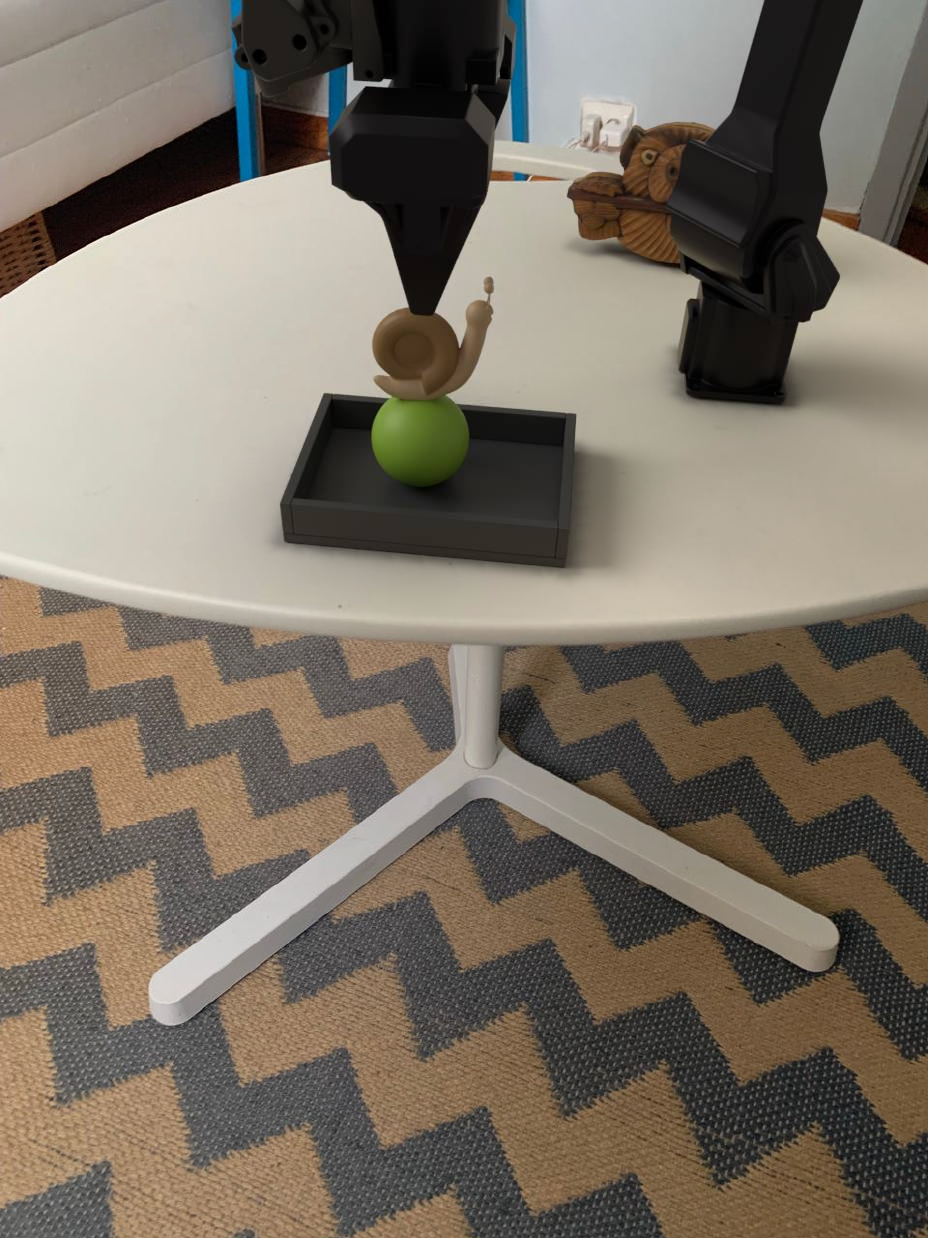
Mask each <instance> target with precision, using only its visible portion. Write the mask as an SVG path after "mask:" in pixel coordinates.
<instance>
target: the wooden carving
mask: <svg viewBox="0 0 928 1238" xmlns="http://www.w3.org/2000/svg"><path fill="white" fill-rule="evenodd" d="M716 129H717V128H713V127H711V126H708V125H707V124H703V123H698V122H694V121H692V122H691V121H672V122H666V123H662V124H658V125H656V126H653V127H649V128H648V129H645V128H643V127H642V126H640V125H637V124H634V125H633V126H632V127H631V128H630V131H629V132H628V135H627V137H626V138H625V140H624V142H623V144H622V146H621V149H620V153H619V156H618V157H619V163H620V166H621V167H622V168H623V172H622V174H619V173H616V172H610V171H591V172H589V173H587V174H586V175H585V176H581V177H577V178H575V179H574V180H573V182H572V183H571V185H570V186H569V187H568V189H567V193H566V198H567V199H568V200H571V201H572V206H573V207H572V208H573V213H574V214H575V215H576V216H577V227H578V234H579V236H580V237H581V239H584V240H588V241H593V242H594V241H602V240H603V241H604V240H608V239H613V238H616V239H617V241H619V243H620V244H621V245H623V246H624V247H625V248H627V249H628V250H629V251H631V252H633V253H634V254H637V255H639V256H640V257H643V258H645V259H650V260H652V261H656V262H662V263H669V264H680V258H679V251H678V247H677V245H676V243H675V241H674V238H672V237H671V236H670V221H671V215H672V211H670V210H669V209H667V208H666V204H667V202H668V200H669V198H670V196H671V195H672V193H673V190H674V187H675V185H676V182H677V179H678V174H679V168H680V161H681V154H682V151H683V149H684V147H685V146H686V144H687V142H688V141H689V140H691V139H695V140H699V141H703V142H705V141H706V140H707V139H708V137H709V136H710V135H711V134H712V133H713V132H714V131H715V130H716Z"/></svg>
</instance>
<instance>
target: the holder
mask: <svg viewBox="0 0 928 1238" xmlns="http://www.w3.org/2000/svg"><path fill="white" fill-rule="evenodd" d="M390 398H391V397H381V396H379V397H378V396H368V395H353V394H344V393H332V392H331V393H330V392H323V394H322V396H321V399H320V402H319V404H318V407H317V409H316V411H315V414H314V416H313V419H312V421H311V424H310V427H309V429H308V431H307V434H306V436H305V439H304V442H303V444H302V446H301V450H300V452H299V454H298V457H297V459H296V461H295V465H294V466H293V469H292V472H291V474H290V477H289V478H288V482H287V484H286V486H285V489H284V492H283V494H282V496H281V499H280V502H279V511H280V518H281V519H280V520H281V527H282V535H283V541H284V542H285V543H294V544H306V545H315V546H316V545H317V546H327V547H328V546H329V547H338V548H349V549H358V550H359V549H360V550H361V549H362V550H369V551H371V550H372V551H381V552H382V551H383V552H394V553H404V554H414V555H426V556H435V557H436V556H437V557H447V558H458V559H468V560H469V559H471V560H480V561H481V560H483V561H493V562H503V563H514V564H524V565H536V566H548V567H556V568H557V567H558V568H565V567H566V565H567V557H568V548H569V541H570V531H571V517H572V502H573V501H572V499H573V498H572V497H573V496H572V495H573V482H574V467H575V465H574V464H575V446H576V429H577V413H574V412H561V411H549V410H535V409H525V408H515V407H513V408H512V407H501V406H500V407H499V406H489V405H476V404H464V403H463V404H462V403H456V404H457V405H458V407H459V408H460V409H461V411H462V413H463V414H464V416H465V419H466V421H467V425H468V429H469V446H468V451H467V454H466V456H465V459H464V461H463V463H462V464H461V466H460V467H459V468H458V470H457V471H456V472H455V473H454V474H453V475H452V476H450V477H449V478H448V479H446V480H444V481H443V482H441V483H438V484H435V485H432V486H426V487H415V486H410V485H406V484H403V483H401V482H399V481H397V480H395V479H394V478H392V477H391V476H390V475H388V474H387V473H386V472H385V471H384V469H383V468H382V467H381V466H380V464H379V462H378V461H377V459H376V456H375V454H374V451H373V447H372V427H373V423H374V420H375V417H376V415H377V413H378V412H379V410H380V408H381V407H382V406H383V405H384V403H385V402H386V401H387V400H389V399H390Z"/></svg>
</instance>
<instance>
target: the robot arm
mask: <svg viewBox="0 0 928 1238" xmlns="http://www.w3.org/2000/svg"><path fill="white" fill-rule="evenodd" d="M240 1H241V3H240V4H241V7H240V9H241V11H240V12H239V13H238V14H237V15H236V16H235V17H234V18H233V19H232V21H231V24H232V26H231V27H230V30H231V31H232V34H233V36H234V39H235V43H236V49H235V51H234V55H233V57H234V61H235V64H236V65H237V66H238V67H239V68H240V69H241V70H243V71H252V73H253V77H254V78H255V81H256V83H257V85H258V88H259V90H260V93H261V95H262V97H264V98H267V99H268V98H269V99H270V98H273V97H274V98H275V97H277V96H280V95H283V94H286V93H288V92H289V90H290V87H291V86H294V85H295V84H298V83H302V82H304V81H307V80H310V79H313V78H316V77H320V76H322V75H325V74H327V73H330V72H333V71H336V70H339V69H341V68H344V67H346V66H348V65H350V64H352V80H353V82H370V83H381V82H383V81H384V80H390V82H389V83H388V85H387V86H371V85H365V86H364V87H363V88H362V89H361V90H360V91H359V92H358V93H357V94H356V95H355V97H354V98H353V99H352V100H351V101H350V102H349V103H348V104H347V105H346V106H345V107H344V108H343V110H342V112H341V114H340V116H339V118H338V120H337V121H336V123H335V125H334V127H333V128H332V129H331V131H330V134H329V135H328V146H329V147H328V148H329V164H330V165H329V166H330V167H329V168H330V182H331V186H333V187H335V188H337V189H338V190H340V191H342V192H344V193H345V194H346V195H347V196H348V197H349V198H350V199H352V200H353V201H358V202H363V203H364V204H365V205H367V206H368V207H369V208H371V209H372V210H373V211H374V212H375V213H377V214H378V215H379V217H380V218H381V221H382V222H383V226H384V228H385V232H386V235H387V237H388V241H389V243H390V247H391V250H392V254H393V257H394V261H395V265H396V268H397V271H398V275H399V278H400V282H401V285H402V288H403V293H404V297H405V300H406V302H407V307H409V310H410V312H411V313H412V314H413V315H420V316H432V315H433V314H434V313H436V310H437V308H438V307H439V304H440V301H441V300H442V299H441V298H442V296H443V294H444V292H445V290H446V287H447V285H448V283H449V280H450V278H451V276H452V273H453V271H454V269H455V267H456V264H457V262H458V260H459V258H460V256H461V254H462V250H463V249H464V246H465V244H466V242H467V240H468V237H469V235H470V233H471V231H472V229H473V226H474V225H475V222H476V220H477V217H478V215H479V213H480V210H481V209H482V206H484V203H485V201H486V199H487V196H488V191H489V188H490V187H489V186H490V182H491V178H492V172H493V165H494V164H493V162H494V152H495V135H496V130H497V128H498V124H499V122H500V119H501V117H502V114H503V111H504V109H505V107H506V104H507V101H508V98H509V93H510V89H511V83H512V79H513V76H514V75H513V73H514V69H515V63H516V46H517V29H518V28H517V24H516V22H515V21H514V19H513V18H512V17H511V16H510V15H509V14H508V13H507V11H506V10H505V8H504V0H240ZM863 3H864V0H763V2H762V6H761V9H760V13H759V17H758V21H757V23H756V28H755V31H754V33H753V34H754V35H753V38H752V41H751V45H750V49H749V52H748V55H747V59H746V63H745V66H744V69H743V73H742V76H741V80H740V84H739V87H738V90H737V93H736V98H735V101H734V104H733V106H732V109H731V112H730V113H729V115H728V116H727V117H726V118H725V119H724V120H723V121H721V123H720V124H719V125H718V126H717V128H715V129H716V130H715V131H714V132H713V133H712V134H711V135H710V136H709V137H708V139H707V140H706V141H705V142H703V141H699V140H695V139H691V140H689V141H688V142H687V144H686V146H685V147H684V149H683V151H682V154H681V161H680V168H679V174H678V179H677V182H676V185H675V187H674V190H673V193H672V195H671V196H670V198H669V200H668V202H667V204H666V208H667V209H669V210H670V211H672V215H671V221H670V236H671V237H672V238H674V241H675V243H676V245H677V247H678V251H679V258H680V263H679V265H680V271H681V272H682V273H684V274H686V275H688V276H689V275H690V276H692V277H693V278H695V279H697V280H698V281H699V283H698V287H697V293H696V298H694V297H693V298H692V297H691V298H688V300H687V301H686V305H685V309H684V313H683V314H684V315H683V321H682V326H681V331H680V336H679V342H678V347H677V353H676V354H677V367H678V368H677V369H678V372H679V373H680V374H682V375H683V380H684V381H683V383H684V391H685V394H686V395H688V396H690V397H699V398H712V399H724V400H734V401H735V400H736V401H749V402H759V403H761V402H762V403H773V404H783V403H785V402H786V400H787V396H788V391H787V388H786V384H785V376H786V373H787V369H788V366H789V365H788V364H789V361H790V358H791V354H792V351H793V348H794V347H793V346H794V343H795V339H796V335H797V331H798V328H799V324H800V323H801V324H802V323H803V324H805V323H806V322H810V321H811V319H812V316H813V314H814V312H819V311H821V310H824V309H825V308H826V307H827V305H828V303H829V301H830V299H831V297H832V296H833V293H834V291H835V290H836V288H837V286H838V284H839V281H840V279H841V273H840V272H839V270H838V269H837V267H836V266H835V263H834V262H833V261H832V259H831V257H830V256H829V254H828V252H827V250H826V249H825V248H824V246H823V245H822V242H821V240H820V238H819V237H818V233H819V229H820V225H821V222H822V217H823V213H824V209H825V205H826V200H827V197H828V191H829V187H828V180H827V174H826V166H825V160H824V153H823V147H822V140H821V130H822V129H821V128H822V125H823V122H824V118H825V116H826V112H827V110H828V106H829V104H830V102H831V101H830V100H831V98H832V95H833V92H834V89H835V85H836V83H837V79H838V78H839V74H840V71H841V68H842V65H843V63H844V60H845V56H846V53H847V50H848V48H849V45H850V41H851V38H852V35H853V32H854V30H855V27H856V24H857V21H858V18H859V16H860V15H859V14H860V11H861V9H862V6H863Z"/></svg>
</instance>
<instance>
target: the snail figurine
mask: <svg viewBox="0 0 928 1238" xmlns="http://www.w3.org/2000/svg"><path fill="white" fill-rule="evenodd" d="M494 283H495V282H494V279H493V277H491V276H487V277H484V279H483V291H484V293H486V294H487V299H486V300H483V299H476V300H473V301H472V302H470V303H469V304H468V306H467V308H466V309H465V313H464V314H465V315H464V316H465V320H466V328H465V332H464V335H463V337H462V340H461V344H460V343H459V339H458V336H457V334H456V332H455V330H454V328H453V327H452V325H451V324H450V323H449V322H448V321H447V320H446V318H444V317H443V316H442V315H441V314H439V313H437V312H435V313H434V314H433V315H432V316H420V315H413V314H412V313H411V312H410V310H409V306H407V307H402V308H399V309H396V310H394V311H392V312H389V313H388V314H387V315H386V316H385V317H383V318H382V319H381V321H380V322H379V323H378V324H377V326H376V328H375V330H374V331H373V332H374V333H373V336H372V341H371V349H372V350H371V351H372V354H373V358H374V360H375V362H376V364H377V365H378V366H379V367H380V368H381V370H383V371H384V372H385V373H386V374H387V375H382V374H376V375H374V376H373V377H372V380H373V382H374V384H375V385H376V386H377V387H378V388H379V389H380V390H382V391H383V392H385V394H387V395H389V396H390V397H389V398H390V399H389V400H387V401H386V402H385V403H384V405H383V406H382V407H381V408H380V410H379V412H378V413H377V415H376V417H375V420H374V423H373V427H372V447H373V451H374V454H375V456H376V459H377V461H378V462H379V464H380V466H381V467H382V468H383V469H384V471H385V472H386V473H387V474H388V475H390V476H391V477H392V478H394V479H395V480H397V481H399V482H401V483H403V484H406V485H410V486H415V487H426V486H432V485H435V484H438V483H441V482H443V481H444V480H446V479H448V478H449V477H450V476H452V475H453V474H454V473H455V472H456V471H457V470H458V468H459V467H460V466H461V464H462V463H463V461H464V459H465V456H466V454H467V451H468V446H469V429H468V425H467V421H466V419H465V416H464V414H463V413H462V411H461V409H460V408H459V407H458V405H457V404H458V403H456V402H455V400H453V399H452V398H451V397H450V396H448V395H449V394H452V393H454V392H456V391H458V390H459V389H461V388H463V386H464V385H465V384H466V383H467V382H468V381H469V380H470V378H471V376H472V375H473V373H474V371H475V370H476V367H477V365H478V363H479V361H480V357H481V354H482V351H483V348H484V344H485V341H486V337H487V332H488V329H489V326H490V324H491V323H492V321H493V317H492V316H493V314H494V308H493V306H492V305H491V294H493V293H494V291H495V286H494Z"/></svg>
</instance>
